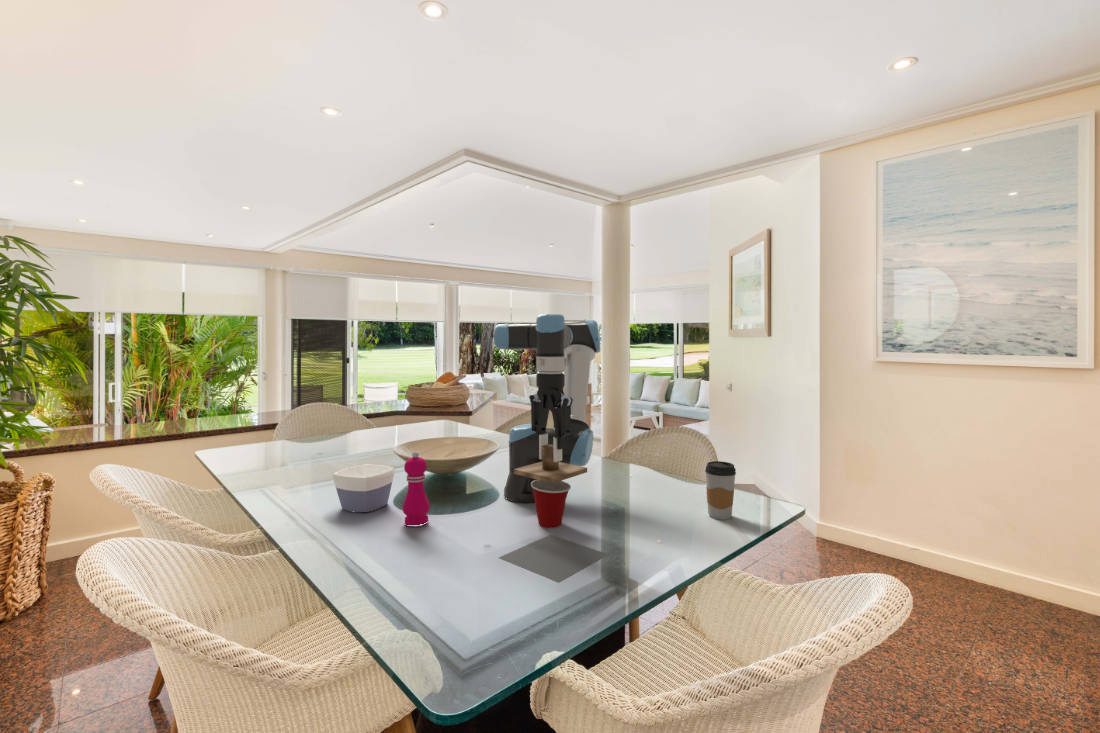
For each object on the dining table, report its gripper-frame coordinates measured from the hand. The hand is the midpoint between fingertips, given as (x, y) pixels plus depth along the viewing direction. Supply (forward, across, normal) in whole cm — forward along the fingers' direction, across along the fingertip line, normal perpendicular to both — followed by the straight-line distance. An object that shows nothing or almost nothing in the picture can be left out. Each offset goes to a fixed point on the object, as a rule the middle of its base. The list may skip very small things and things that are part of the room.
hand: (550, 459), depth 136 cm
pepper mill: (+19, -30, -22) cm, 42 cm away
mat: (+19, +14, -15) cm, 28 cm away
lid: (+4, 0, 0) cm, 4 cm away
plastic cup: (+19, 0, 0) cm, 19 cm away
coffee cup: (+19, +31, +38) cm, 52 cm away
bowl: (+19, -54, -24) cm, 62 cm away
